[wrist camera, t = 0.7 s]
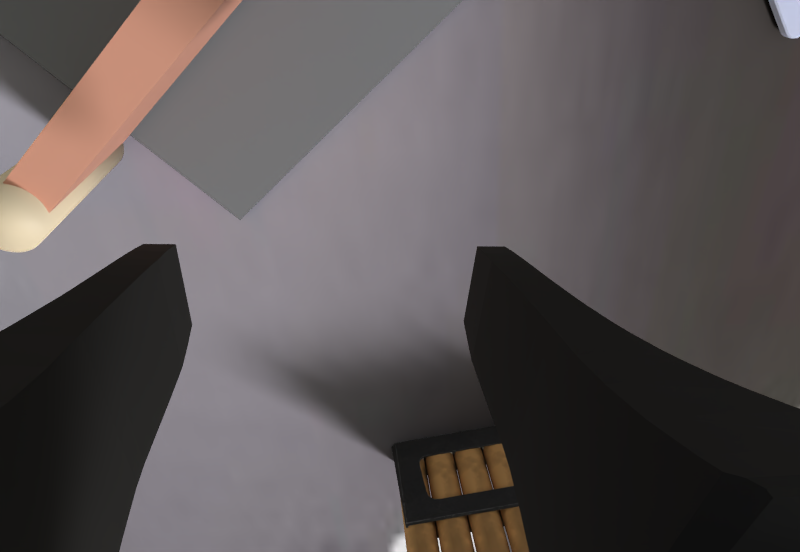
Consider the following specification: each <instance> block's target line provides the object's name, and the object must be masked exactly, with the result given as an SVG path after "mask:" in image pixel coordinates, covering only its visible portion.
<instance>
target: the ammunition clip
mask: <svg viewBox="0 0 800 552" xmlns="http://www.w3.org/2000/svg"><path fill="white" fill-rule="evenodd" d="M392 451H393V456H394V462H395V468H396V474H397V480H398V486H399V491H400V498H401V506H402V514H403V522H404V530H405V539H406V547H407V552H439V546H438V539H437V538H439V540H440V546H441V551H442V552H474V547H473V543H472V538H471V534H470V532H472V534H473V538H474V543H475V547H476V551H477V552H510V550H509V546H508V542H507V539H506V535H505V532H504V528H503V526H505V528H506V532H507V535H508V539H509V542H510V545H511V549H512V552H529V549H528V545H527V540H526V536H525V531H524V527H523V522H522V518H521V513H520V509H519V505H518V501H517V497H516V493H515V489H514V485H513V481H512V476H511V472H510V468H509V465H508V462H507V459H506V455H505V452H504V449H503V446H502V443H501V440H500V438H499V435H498V432H497V429H496V427H495V426H493V427H488V428H482V429H476V430H470V431H465V432H459V433H453V434H447V435H441V436H436V437H430V438H424V439H418V440H413V441H407V442H401V443H395V444H394V445H393V446H392ZM486 464H487V467H488V471H489V474H490V477H491V481H492V484H493V488H494V489H492V485H491V481H490V478H489V474H488V471H487V467H486ZM457 470H458V475H459V479H460V483H461V487H462V492H463V495H462V493H461V488H460V484H459V479H458V475H457ZM427 475H428V478H429V484H430V490H431V495H432V498H431V497H430V491H429V484H428V478H427Z"/></svg>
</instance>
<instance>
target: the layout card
mask: <svg viewBox="0 0 800 552" xmlns="http://www.w3.org/2000/svg"><path fill="white" fill-rule="evenodd" d="M140 1H141V0H0V35H1V36H3V37H4V38H5V39H7V40H8V41H9V42H10V43H12V44H13V45H14V46H16V47H17V48H18V49H19V50H21V51H22V52H23V53H25V54H26V55H27V56H29V57H30V58H31V59H32V60H34V61H35V62H36V63H38V64H39V65H40V66H41V67H43V68H44V69H45V70H47V71H48V72H49V73H51V74H52V75H53V76H54V77H56V78H57V79H58V80H60V81H61V82H62V83H63V84H65V85H66V86H67V87H69V88H70V89H71V90H73V89H74V88H75V87H76V85H77V84H78V83H79V81H80V80H81V79H82V77H83V76H84V75H85V73H86V72H87V71H88V69H89V68H90V67H91V65H92V64H93V63H94V61H95V60H96V59H97V57H98V56H99V55H100V54H101V52H102V51H103V50H104V48H105V47H106V46H107V44H108V43H109V42H110V40H111V39H112V38H113V36H114V35H115V34H116V32H117V31H118V30H119V28H120V27H121V26H122V24H123V23H124V22H125V20H126V19H127V18H128V16H129V15H130V14H131V12H132V11H133V10H134V9H135V7H136V6H137V5H138V3H139V2H140ZM462 1H463V0H242V1H241V3H240V4H239V5H238V6H237V7H236V8H235V10H234V11H233V12H232V13H231V14H230V16H229V17H228V18H227V19H226V20H225V22H224V23H223V24H222V25H221V26H220V28H219V29H218V30H217V31H216V32H215V34H214V35H213V36H212V37H211V38H210V40H209V41H208V42H207V43H206V44H205V46H204V47H203V48H202V49H201V50H200V52H199V53H198V54H197V55H196V56H195V57H194V59H193V60H192V61H191V62H190V63H189V65H188V66H187V67H186V68H185V69H184V71H183V72H182V73H181V74H180V75H179V77H178V78H177V79H176V80H175V81H174V83H173V84H172V85H171V86H170V87H169V89H168V90H167V91H166V92H165V93H164V95H163V96H162V97H161V98H160V99H159V100H158V102H157V103H156V104H155V105H154V106H153V108H152V109H151V110H150V111H149V112H148V114H147V115H146V116H145V117H144V118H143V120H142V121H141V122H140V123H139V124H138V126H137V127H136V128H135V129H134V130H133V132H132V133H131V134H130V135H131V136H132V137H133V138H135V139H136V140H137V141H138V142H140V143H141V144H142V145H144V146H145V147H146V148H148V149H149V150H150V151H151V152H153V153H154V154H155V155H157V156H158V157H159V158H160V159H162V160H163V161H164V162H166V163H167V164H168V165H170V166H171V167H172V168H173V169H175V170H176V171H177V172H179V173H180V174H181V175H182V176H184V177H185V178H186V179H188V180H189V181H190V182H192V183H193V184H194V185H195V186H197V187H198V188H199V189H201V190H202V191H203V192H204V193H206V194H207V195H208V196H210V197H211V198H212V199H213V200H215V201H216V202H217V203H219V204H220V205H221V206H223V207H224V208H225V209H226V210H228V211H229V212H230V213H232V214H233V215H234V216H235V217H237V218H238V219H239V220H241V219H242V218H243V217H244V216H245V215H246V214H247V213H248V212H249V211H250V210H251V209H252V208H253V207H254V206H255V205H256V204H257V203H258V202H259V201H260V200H261V199H262V198H263V197H264V196H265V195H266V194H267V193H268V192H269V191H270V190H271V189H272V188H273V187H274V186H275V185H276V184H277V183H278V182H279V181H280V180H281V179H282V178H283V177H284V176H285V175H286V174H287V173H288V172H289V171H290V170H291V169H292V168H293V167H294V166H295V165H296V164H297V163H298V162H299V161H300V160H301V159H302V158H303V157H304V156H306V155H307V154H308V153H309V152H310V151H311V150H312V149H313V148H314V147H315V146H316V145H317V144H318V143H319V142H320V141H321V140H322V139H323V138H324V137H325V136H326V135H327V134H328V133H329V132H330V131H331V130H332V129H333V128H334V127H335V126H336V125H337V124H338V123H339V122H340V121H341V120H342V119H343V118H344V117H345V116H346V115H347V114H348V113H349V112H350V111H351V110H352V109H353V108H354V107H355V106H356V105H357V104H358V103H359V102H360V101H361V100H362V99H363V98H364V97H365V96H366V95H367V94H368V93H369V92H370V91H371V90H372V89H373V88H374V87H375V86H376V85H377V84H378V83H379V82H380V81H382V80H383V79H384V78H385V77H386V76H387V75H388V74H389V73H390V72H391V71H392V70H393V69H394V68H395V67H396V66H397V65H398V64H399V63H400V62H401V61H402V60H403V59H404V58H405V57H406V56H407V55H408V54H409V53H410V52H411V51H412V50H413V49H414V48H415V47H416V46H417V45H418V44H419V43H420V42H421V41H422V40H423V39H424V38H425V37H426V36H427V35H428V34H429V33H430V32H431V31H432V30H433V29H434V28H435V27H436V26H437V25H438V24H439V23H440V22H441V21H442V20H443V19H444V18H445V17H446V16H447V15H448V14H449V13H450V12H451V11H452V10H453V9H454V8H455V7H457V6H458V5H459V4H460V3H461V2H462Z"/></svg>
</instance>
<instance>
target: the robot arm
mask: <svg viewBox="0 0 800 552" xmlns="http://www.w3.org/2000/svg"><path fill="white" fill-rule="evenodd" d="M768 1H769V4H770V6H771V9H772V12H773V14H774V17H775V20H776V22H777V25H778V28H779V30H780V33H781V34H782V35H783V36H785V37H788V38H798V37H800V0H768ZM464 325H465V330H466V335H467V340H468V345H469V350H470V354H471V359H472V362H473V365H474V368H475V371H476V374H477V377H478V379H479V382H480V385H481V388H482V391H483V394H484V396H485V399H486V402H487V405H488V407H489V410H490V413H491V416H492V418H493V421H494V424H495V427H496V429H497V432H498V435H499V438H500V440H501V443H502V446H503V449H504V452H505V455H506V459H507V462H508V465H509V468H510V472H511V476H512V481H513V485H514V489H515V493H516V497H517V501H518V505H519V509H520V513H521V518H522V522H523V527H524V531H525V536H526V540H527V545H528V549H529V552H800V409H799V408H796V407H793V406H791V405H788V404H785V403H783V402H780V401H777V400H775V399H772V398H769V397H767V396H764V395H762V394H759V393H756V392H754V391H751V390H749V389H746V388H744V387H741V386H739V385H736V384H734V383H732V382H729V381H727V380H724V379H722V378H720V377H717V376H715V375H713V374H711V373H709V372H707V371H704V370H702V369H700V368H698V367H696V366H693V365H691V364H689V363H687V362H685V361H683V360H681V359H679V358H677V357H675V356H673V355H671V354H668V353H666V352H665V351H663V350H661V349H659V348H657V347H655V346H653V345H652V344H650V343H648V342H646V341H644V340H642V339H641V338H639V337H637V336H635V335H633V334H631V333H630V332H628V331H626V330H625V329H623V328H621V327H620V326H618V325H616V324H615V323H613V322H611V321H610V320H608V319H607V318H605V317H604V316H602V315H601V314H599V313H598V312H596V311H594V310H593V309H591V308H590V307H588V306H587V305H585V304H584V303H582V302H581V301H580V300H578V299H577V298H575V297H574V296H572V295H571V294H570V293H568V292H567V291H565V290H564V289H563V288H561V287H560V286H559V285H557V284H556V283H554V282H553V281H552V280H550V279H549V278H548V277H546V276H545V275H544V274H542V273H541V272H540V271H538V270H537V269H536V268H534V267H533V266H532V265H530V264H529V263H528V262H526V261H525V260H524V259H522V258H521V257H520V256H518V255H517V254H515V253H514V252H512V251H511V250H509V249H508V248H506V247H478V246H477V251H476V256H475V262H474V267H473V273H472V279H471V284H470V290H469V295H468V301H467V307H466V312H465V318H464ZM191 327H192V322H191V317H190V312H189V307H188V303H187V298H186V293H185V288H184V283H183V278H182V273H181V268H180V263H179V258H178V254H177V249H176V244H143V245H141V246H139V247H137V248H135V249H134V250H132V251H130V252H128V253H127V254H125V255H124V256H122V257H121V258H119V259H117V260H116V261H114V262H113V263H111V264H110V265H108V266H107V267H105V268H104V269H102V270H101V271H99V272H97V273H96V274H94V275H93V276H91V277H90V278H88V279H87V280H85V281H84V282H82V283H80V284H79V285H77V286H76V287H74V288H73V289H71V290H70V291H68V292H66V293H65V294H63V295H62V296H60V297H58V298H57V299H55V300H53V301H52V302H50V303H48V304H47V305H45V306H43V307H41V308H40V309H38V310H36V311H35V312H33V313H31V314H30V315H28V316H26V317H25V318H23V319H21V320H19V321H18V322H16V323H14V324H13V325H11V326H9V327H7V328H6V329H4V330H2V331H0V552H119V550H120V546H121V542H122V538H123V534H124V531H125V527H126V523H127V520H128V516H129V512H130V509H131V505H132V501H133V498H134V494H135V491H136V487H137V484H138V481H139V478H140V475H141V472H142V469H143V467H144V464H145V461H146V459H147V456H148V454H149V451H150V448H151V446H152V443H153V441H154V438H155V436H156V433H157V431H158V428H159V426H160V423H161V421H162V418H163V416H164V413H165V411H166V408H167V406H168V403H169V401H170V398H171V395H172V393H173V390H174V388H175V385H176V382H177V380H178V377H179V375H180V372H181V369H182V366H183V362H184V358H185V354H186V350H187V346H188V341H189V336H190V332H191Z"/></svg>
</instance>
